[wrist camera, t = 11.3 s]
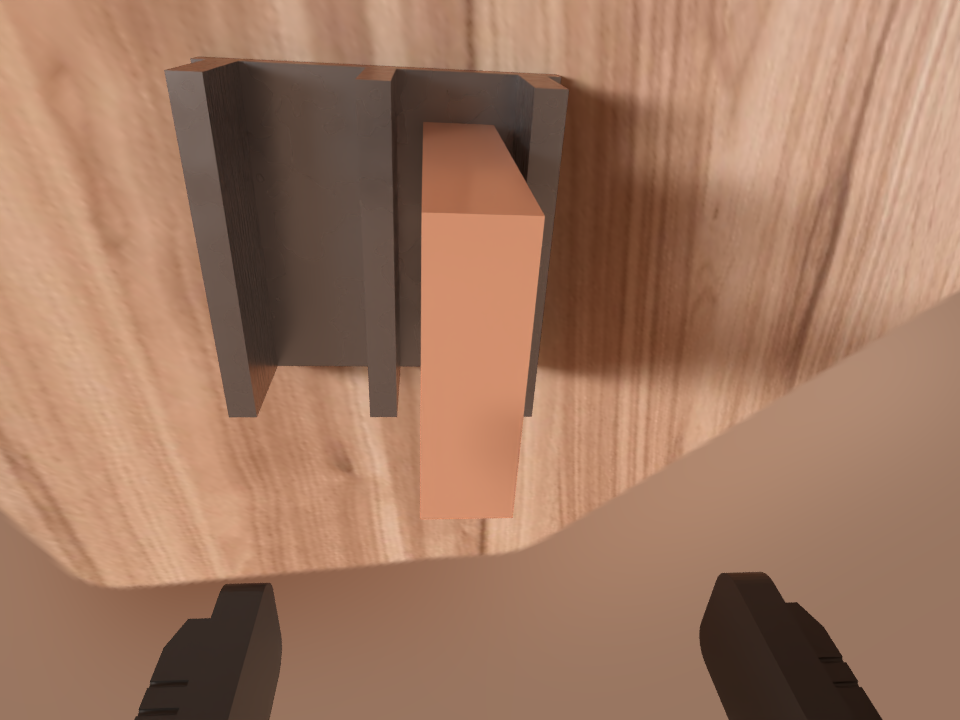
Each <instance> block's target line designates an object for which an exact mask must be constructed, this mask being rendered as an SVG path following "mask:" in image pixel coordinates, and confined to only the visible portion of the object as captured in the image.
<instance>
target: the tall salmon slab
mask: <svg viewBox="0 0 960 720" xmlns="http://www.w3.org/2000/svg"><path fill="white" fill-rule="evenodd" d="M544 220H545V215H544V214H543V212H542V210H541V208H540V206H539V205H538V203H537V201H536V199H535V197H534V196H533V194H532V192H531V190H530V189H529V187H528V185H527V183H526V181H525V180H524V178H523V176H522V174H521V173H520V171H519V169H518V167H517V165H516V164H515V162H514V160H513V158H512V157H511V155H510V153H509V151H508V149H507V148H506V146H505V144H504V142H503V141H502V139H501V137H500V135H499V133H498V132H497V130H496V128H495V126H494V125H483V124H460V123H437V122H423V160H422V224H421V419H420V519H471V518H513V509H514V500H515V491H516V481H517V472H518V463H519V453H520V444H521V435H522V425H523V416H524V407H525V397H526V388H527V379H528V369H529V360H530V351H531V342H532V332H533V323H534V314H535V304H536V295H537V286H538V276H539V267H540V258H541V248H542V239H543V230H544Z"/></svg>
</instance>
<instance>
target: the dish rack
mask: <svg viewBox="0 0 960 720" xmlns="http://www.w3.org/2000/svg"><path fill="white" fill-rule="evenodd" d="M164 71H165V76H166V82H167V87H168V92H169V98H170V103H171V108H172V114H173V119H174V125H175V130H176V135H177V141H178V146H179V151H180V157H181V162H182V168H183V173H184V178H185V184H186V189H187V194H188V200H189V205H190V210H191V216H192V221H193V227H194V232H195V237H196V243H197V248H198V253H199V259H200V264H201V270H202V275H203V280H204V286H205V291H206V296H207V302H208V307H209V312H210V318H211V323H212V329H213V334H214V339H215V345H216V350H217V355H218V361H219V366H220V372H221V377H222V382H223V388H224V393H225V398H226V404H227V409H228V414H229V417H257V416H258V413H259V411H260V408H261V406H262V403H263V401H264V398H265V396H266V393H267V391H268V389H269V386H270V384H271V381H272V379H273V376H274V374H275V371H276V369H277V366H368V377H369V398H370V417H397V410H398V395H399V381H400V366H421V224H422V160H423V122H437V123H460V124H483V125H494V126H495V128H496V130H497V132H498V133H499V135H500V137H501V139H502V141H503V142H504V144H505V146H506V148H507V149H508V151H509V153H510V155H511V157H512V158H513V160H514V162H515V164H516V165H517V167H518V169H519V171H520V173H521V174H522V176H523V178H524V180H525V181H526V183H527V185H528V187H529V189H530V190H531V192H532V194H533V196H534V197H535V199H536V201H537V203H538V205H539V206H540V208H541V210H542V212H543V214H544V215H545V220H544V230H543V239H542V248H541V258H540V267H539V276H538V286H537V295H536V304H535V314H534V323H533V332H532V342H531V351H530V360H529V369H528V379H527V388H526V397H525V407H524V416H523V417H532V408H533V400H534V391H535V382H536V374H537V365H538V356H539V347H540V339H541V330H542V321H543V312H544V304H545V295H546V286H547V277H548V269H549V260H550V251H551V243H552V234H553V225H554V216H555V208H556V199H557V190H558V181H559V173H560V164H561V155H562V146H563V138H564V129H565V120H566V112H567V103H568V94H569V89H567V88H566V87H564V86H562V85H561V77H560V76H558V75H555V74H535V73H515V72H495V71H475V70H455V69H435V68H415V67H395V66H375V65H355V64H335V63H315V62H295V61H275V60H255V59H235V58H215V57H195V58H191V63H190V64H186V65H182V66H179V67H175V68H171V69H167V70H164Z"/></svg>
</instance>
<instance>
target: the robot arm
mask: <svg viewBox="0 0 960 720" xmlns="http://www.w3.org/2000/svg"><path fill="white" fill-rule="evenodd" d="M281 640H282V639H281V632H280V626H279V621H278V615H277V609H276V604H275V598H274V592H273V588H272V585H271V583H244V584H225V585H224V586H223V588H222V589H221V591H220V594H219V596H218V599H217V602H216V605H215V608H214V610H213V614H212V616H211V618H208V619H207V618H205V619H188V620H187V621H186V622H185V623H184V625H183V626H182V627H181V628H180V629H179V631H178V632H177V633H176V634H175V635H174V636H173V638H172V639H171V640H170V641H169V642H168V643H167V645H166V646H165V647H164V648H163V651H162V653H161V656H160V658H159V661H158V663H157V666H156V668H155V671H154V673H153V676H152V678H151V680H150V687H149V688H147V690H146V693H145V695H144V698H143V700H142V703H141V705H140V707H139V714H138V716H136V718H135V720H269V718H270V714H271V709H272V705H273V700H274V695H275V691H276V686H277V682H278V677H279V672H280V665H281V655H282V641H281ZM700 646H701V651H702V655H703V658H704V661H705V664H706V666H707V669H708V671H709V673H710V676H711V678H712V681H713V683H714V685H715V688H716V690H717V693H718V695H719V697H720V700H721V702H722V705H723V707H724V709H725V712H726V714H727V716H728V719H729V720H882V718H881V717H880V715H879V714H878V712H877V710H876V709H875V707H874V706H873V704H872V703H871V701H870V699H869V698H868V696H867V695H866V693H865V691H864V690H863V688H862V687H859V686H858V680H857V679H856V677H855V676H854V674H853V672H852V671H851V669H850V668H849V666H848V665H847V663H846V662H845V663H844V662H843V660H842V655H841V654H840V652H839V650H838V649H837V647H836V646H835V644H834V642H833V641H832V639H831V638H830V636H829V635H828V633H827V631H826V630H825V628H824V627H823V626H822V625H821V624H820V623H819V622H818V621H816V619H814V618H813V617H812V616H811V615H810V614H809V613H808V612H807V611H806V610H805V609H804V608H803V607H801V606H800V605H799V604H798V603H797V602H795V603H785V601H784V600H783V598H782V596H781V594H780V593H779V591H778V589H777V588H776V586H775V584H774V583H773V581H772V580H771V578H770V577H769V576H768V575H767V574H765V573H763V572H745V573H744V572H743V573H721V574H720V575H719V576H718V578H717V580H716V583H715V586H714V589H713V591H712V594H711V597H710V600H709V602H708V605H707V608H706V611H705V613H704V616H703V619H702V622H701V625H700Z"/></svg>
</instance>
